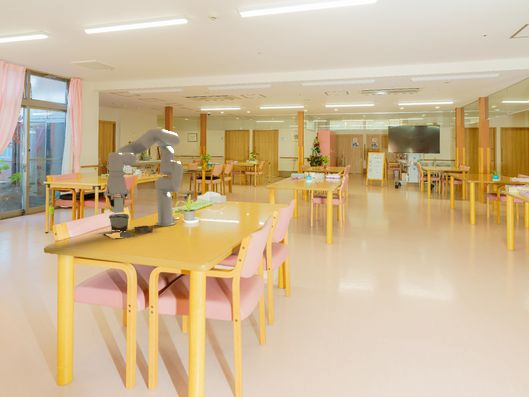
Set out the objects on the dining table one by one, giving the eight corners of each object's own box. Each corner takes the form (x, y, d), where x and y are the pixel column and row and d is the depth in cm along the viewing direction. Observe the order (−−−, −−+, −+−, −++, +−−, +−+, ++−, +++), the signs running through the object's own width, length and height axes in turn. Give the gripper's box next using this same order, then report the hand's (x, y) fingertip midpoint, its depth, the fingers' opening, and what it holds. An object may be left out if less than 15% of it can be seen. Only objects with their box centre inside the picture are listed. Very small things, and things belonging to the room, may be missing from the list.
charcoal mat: (123, 232, 236) (123, 231, 236) (134, 236, 225) (134, 235, 225) (103, 234, 228) (103, 234, 228) (114, 239, 217) (114, 238, 217)
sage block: (120, 211, 228) (119, 197, 227) (123, 212, 225) (123, 198, 224) (111, 211, 225) (111, 198, 224) (115, 212, 221) (114, 198, 220)
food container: (133, 229, 244) (132, 213, 242) (128, 231, 238) (128, 215, 236) (114, 229, 245) (113, 213, 244) (109, 231, 239) (108, 215, 238)
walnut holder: (146, 230, 242) (146, 225, 242) (152, 232, 236) (152, 227, 236) (134, 231, 237) (134, 227, 237) (140, 233, 231) (139, 228, 231)
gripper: (128, 173, 231) (129, 204, 233) (98, 174, 219) (99, 206, 221) (133, 174, 225) (134, 205, 227) (103, 175, 214) (104, 208, 216)
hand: (117, 205), depth 224 cm, fingers closed on sage block, 5 cm apart
